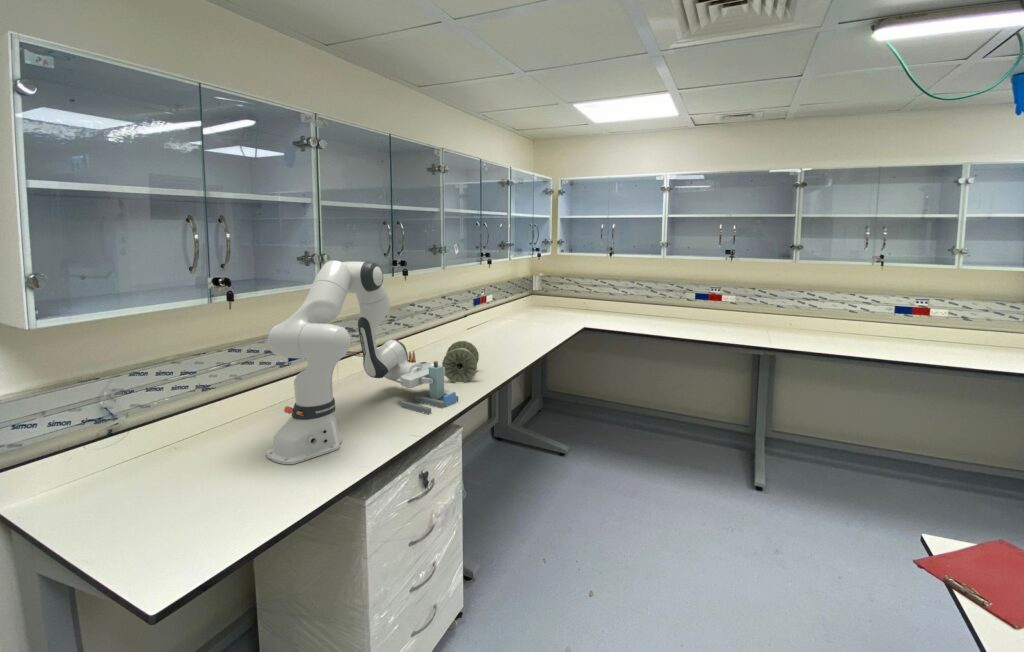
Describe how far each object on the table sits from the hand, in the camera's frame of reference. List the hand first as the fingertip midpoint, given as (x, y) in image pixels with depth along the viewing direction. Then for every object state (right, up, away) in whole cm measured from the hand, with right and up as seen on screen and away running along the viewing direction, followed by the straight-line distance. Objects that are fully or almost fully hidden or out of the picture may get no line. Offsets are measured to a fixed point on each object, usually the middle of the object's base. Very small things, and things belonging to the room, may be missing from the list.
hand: (438, 379), depth 200 cm
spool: (+6, -3, +33) cm, 34 cm away
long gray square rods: (-3, -9, -1) cm, 10 cm away
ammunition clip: (-19, -3, +34) cm, 39 cm away
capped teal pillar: (-1, -7, +2) cm, 7 cm away
